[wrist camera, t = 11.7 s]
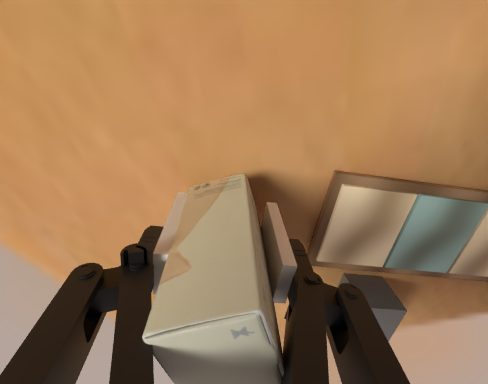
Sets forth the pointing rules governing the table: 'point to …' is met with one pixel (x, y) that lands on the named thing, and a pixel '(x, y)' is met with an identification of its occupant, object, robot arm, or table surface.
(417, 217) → the track
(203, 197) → the box
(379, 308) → the cube
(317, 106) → the table surface
